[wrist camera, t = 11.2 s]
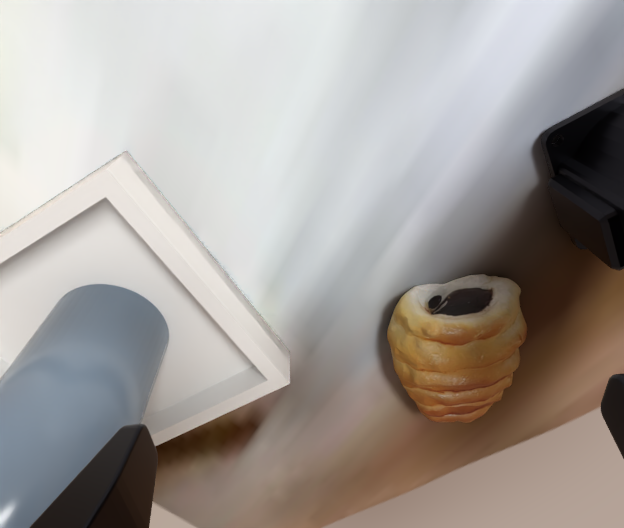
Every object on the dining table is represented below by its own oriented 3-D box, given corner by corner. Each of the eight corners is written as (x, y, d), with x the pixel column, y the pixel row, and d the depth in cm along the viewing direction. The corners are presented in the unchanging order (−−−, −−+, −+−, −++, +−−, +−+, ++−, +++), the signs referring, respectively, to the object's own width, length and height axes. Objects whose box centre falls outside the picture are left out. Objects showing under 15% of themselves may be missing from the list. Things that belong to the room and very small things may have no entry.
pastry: (503, 391, 28) (531, 444, 24) (393, 407, 28) (406, 462, 25) (511, 261, 23) (548, 306, 20) (378, 283, 23) (393, 330, 20)
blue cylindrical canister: (116, 259, 20) (-121, 625, 9) (197, 346, 23) (102, 712, 11) (19, 314, 22) (-301, 697, 10) (107, 390, 25) (-62, 760, 13)
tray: (126, 150, 19) (106, 169, 17) (289, 351, 25) (290, 383, 23) (-85, 288, 22) (-124, 319, 20) (107, 439, 28) (93, 475, 26)
